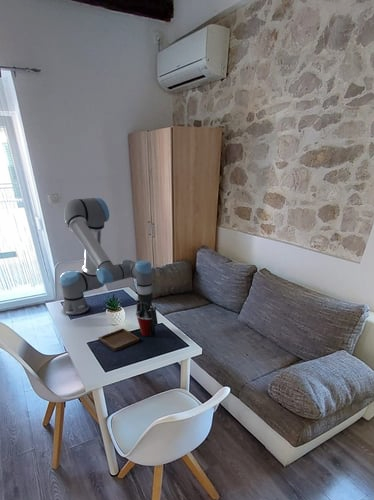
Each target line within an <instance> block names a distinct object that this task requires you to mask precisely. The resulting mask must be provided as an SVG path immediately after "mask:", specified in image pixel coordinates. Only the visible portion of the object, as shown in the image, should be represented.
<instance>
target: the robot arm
mask: <svg viewBox="0 0 374 500" xmlns="http://www.w3.org/2000/svg"><path fill="white" fill-rule="evenodd" d="M63 210H64V211H63V219H64V223H65V226H66V227H67V228H68V230H69V231H70V232H72V233H74V235H75V237H76V238H77V240H78V241H79V242H80V244H81V246H82V248H83V249H84V265H83V266H82V268H81V271H79V270H68V271H65V272H63V273H62V274H61V275H60V276H59V282H60V284H59V285H60V287H61V291H62V296H63V304H62V305H63V306H62V311H63V313H64V314H65V315H68V316H79V315H80V316H81V315H84V314H86V313H87V312H89V311H90V306H89V304H88V302H87V300H86V298H85V295H84V293H86V292H89V291H90V292H91V291H93V290H98V289H101V288H103V287H105V285H107V284H112V283H114V282H118V281H122V280H127V279H130V278H133V279H135V280H136V291H137V299H136V300H135V302H136V313H137V312H138V311H140V313H139V315H140V318H141V317H142V316H143V317H144V313H145V311H146V313H147V314H148V318H152V319H150V324H151V325H150V336H149V337H154V336H155V335H156V326H157V325H158V324H159V322H158V316H157V307H156V305H153V303H152V301H153V300H154V295H153V273H152V271H153V270H152V263H151V262H150V261H149V260H144V259H142V260H141V259H140V260H137V261H134V260H130V259H124V260H123V261H122V262H120V263H117V264H114V263H113V262H112V261H111V259H110V257H109V256H108V254H107V253H106V251H105V250H104V249H103V247H102V246H101V245H102V230H103V229H104V228H105V223H106V222H109V220H110V210H109V207H108V205H107V203H106V201H105V200H104V199H102V197H89V198H88V197H86V198H74V199H71V200H69V201H68V202H67V204H66V205H65V206H64V209H63ZM148 310H150V311H148ZM139 330H140V331H141V329H140V328H139Z"/></svg>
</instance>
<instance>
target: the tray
mask: <svg viewBox="0 0 374 500" xmlns="http://www.w3.org/2000/svg"><path fill="white" fill-rule="evenodd" d="M98 341H99V342H101V343H102V344H104V345H105V346H107V347H109V349H111V350H112V351H113V352H116V351H120V350H121V349H124V348H126V347H129V346H131V345H134V344H136V343H139V342H140V337H138V336H137V335H135V334H133V333H132V332H130V331H129V330H126V329H125V328H120V329H117V330H114V331H112V332H109V333H107V334H104V335H101V336H98Z"/></svg>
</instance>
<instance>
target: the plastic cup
mask: <svg viewBox="0 0 374 500" xmlns="http://www.w3.org/2000/svg"><path fill="white" fill-rule="evenodd" d="M148 311H150V310H148ZM139 313H140V311H138V312H137V311H136V312H135V316H136V318H137V321H138V326H139V330H140V329H141V330H140V333H141V335H142V336H144V337H151V336H150V325H151V324H150V319H152V318H148V314H147V313H146V311H145V313H144V317H143V316H142V317H141V318H140V315H139Z"/></svg>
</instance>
